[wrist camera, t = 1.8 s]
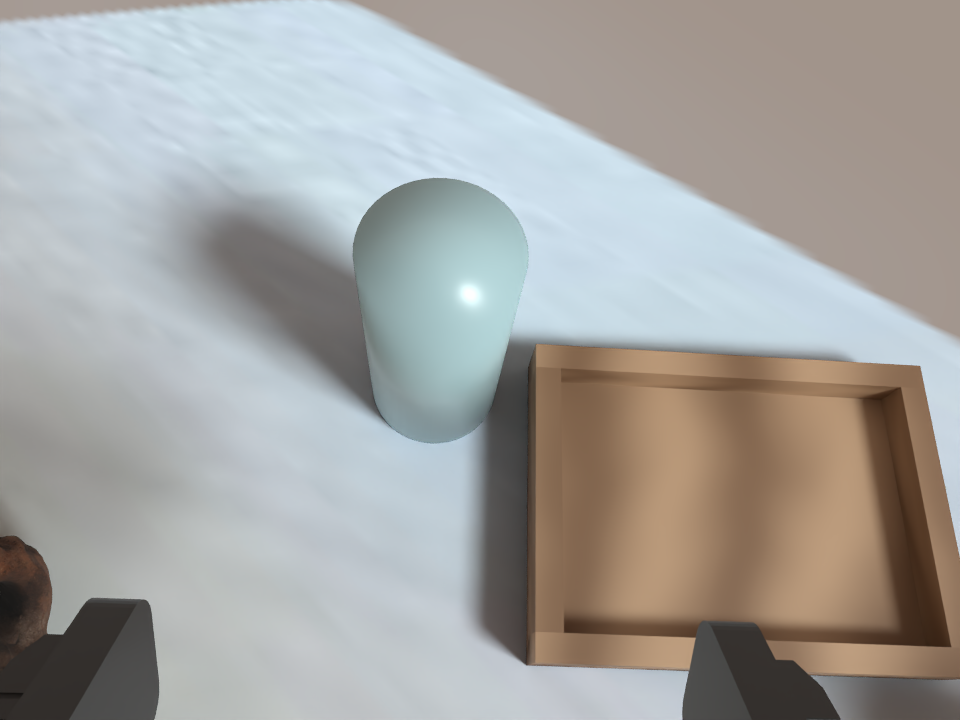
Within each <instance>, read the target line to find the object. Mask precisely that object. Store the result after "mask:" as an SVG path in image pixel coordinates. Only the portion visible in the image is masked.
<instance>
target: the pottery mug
mask: <svg viewBox="0 0 960 720" xmlns="http://www.w3.org/2000/svg"><path fill="white" fill-rule="evenodd" d="M51 604H52V587H51V582H50V577H49V571H48V568H47V566H46V564H45V562H44V560H43V558H42V556H41V555H40V554H39V553H38V552H37V550H36V549H34V548H33V547H31V546H28V545H26V544H25V543H24V542H23V541H22V540H20V539H19V538H18V537H16V536H6V537H0V673H1V672H2V671H3V669H4V668H5V666H6V665H7V664H8V662H9V661H10V660H11V659H13V658H14V657H15V656H17V655H18V654H19V653H21V652H22V651H23V650H25V649H26V648H27V647H29V646H30V645H31V644H33V643H34V642H35V641H37V640H38V639H39V638H41V637H42V636H43V635H45V634H47V623H48V619H49V615H50V610H51Z"/></svg>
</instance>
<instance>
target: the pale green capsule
mask: <svg viewBox="0 0 960 720" xmlns="http://www.w3.org/2000/svg"><path fill="white" fill-rule="evenodd" d="M528 257H529V256H528V245H527V240H526V236H525V234H524V231H523V228H522V226H521V224H520V223H519V221H518V219H517V218H516V216H515V215H514V213H513V212H512V211H511V210H510V209H509V207H508V206H507V205H506V204H505V203H504V202H502V201H501V200H500V199H499V198H498V197H496V196H495V195H493V194H492V193H490V192H489V191H487V190H485V189H483V188H481V187H479V186H477V185H474V184H471V183H468V182H464V181H460V180H455V179H447V178H430V179H422V180H417V181H413V182H410V183H407V184H403V185H401V186H399V187H397V188H395V189H393V190H391V191H389V192H388V193H386V194H385V195H383V196H382V197H381V198H380V199H378V200H377V201H376V202H375V203H374V204H373V205H372V206H371V207H370V208H369V209H368V211H367V212H366V214H365V215H364V216H363V218H362V220H361V222H360V224H359V226H358V228H357V231H356V234H355V238H354V243H353V262H354V269H355V276H356V282H357V289H358V296H359V302H360V309H361V316H362V322H363V329H364V336H365V342H366V349H367V355H368V362H369V369H370V375H371V382H372V389H373V395H374V399H375V403H376V406H377V408H378V410H379V412H380V414H381V415H382V417H383V418H384V420H385V421H386V422H387V423H388V424H389V425H390V426H391V427H392V428H393V429H394V430H396V431H397V432H398V433H400V434H402V435H404V436H405V437H407V438H410V439H412V440H415V441H419V442H424V443H444V442H449V441H453V440H456V439H459V438H461V437H463V436H465V435H467V434H469V433H470V432H471V431H473V430H474V429H475V428H477V427H478V426H479V425H480V424H481V423H482V421H483V420H484V419H485V417H486V416H487V414H488V412H489V411H490V409H491V406H492V404H493V400H494V396H495V392H496V389H497V385H498V381H499V377H500V373H501V369H502V365H503V361H504V358H505V354H506V350H507V346H508V342H509V338H510V334H511V330H512V326H513V323H514V319H515V315H516V311H517V307H518V303H519V299H520V295H521V292H522V288H523V284H524V280H525V276H526V272H527V268H528Z"/></svg>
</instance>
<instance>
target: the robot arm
mask: <svg viewBox="0 0 960 720" xmlns="http://www.w3.org/2000/svg"><path fill="white" fill-rule="evenodd" d="M158 698H159V677H158V668H157V659H156V650H155V641H154V632H153V622H152V613H151V608H150V605H149V603H148V602H147V600H141V599H112V598H91V599H89V600H88V601H87V602H86V603H85V604H84V605H83V607H82V608H81V610H80V611H79V613H78V614H77V615H76V617H75V618H74V620H73V621H72V623H71V624H70V626H69V627H68V629H67V630H66V632H65V633H64V635H54V634H45V635H43V636H42V637H41V638H39V639H38V640H37V641H35V642H34V643H33V644H31V645H30V646H29V647H27V648H26V649H25V650H23V651H22V652H21V653H19V654H18V655H17V656H15V657H14V658H13V659H11V660H10V661H9V662H8V664H7V665H6V666H5V668H4V669H3V671H2V672H1V673H0V720H154V718H155V715H156V710H157V705H158ZM682 716H683V720H840V717H839V715H838V714H837V712H836V710H835V708H834V707H833V705H832V703H831V701H830V700H829V698H828V696H827V694H826V693H825V691H824V689H823V687H821V686H820V685H819V684H818V683H817V682H816V681H815V680H814V679H813V678H812V677H811V676H810V675H809V674H807V673H806V672H805V671H804V670H803V669H802V668H801V667H800V666H799V665H798V664H797V663H796V662H795V661H794V660H776V659H775V657H774V655H773V653H772V651H771V650H770V648H769V646H768V644H767V642H766V640H765V638H764V636H763V634H762V632H761V630H760V629H759V627H758V626H757V625H756V624H755V623H753V622H732V621H702V622H701V623H700V625H699V627H698V630H697V634H696V639H695V644H694V649H693V654H692V659H691V664H690V669H689V674H688V679H687V684H686V689H685V694H684V699H683V711H682Z"/></svg>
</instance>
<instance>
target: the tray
mask: <svg viewBox="0 0 960 720" xmlns="http://www.w3.org/2000/svg"><path fill="white" fill-rule="evenodd" d="M702 621H732V622H753V623H755V624H756V625H757V626H758V627H759V629H760V630H761V632H762V634H763V636H764V638H765V640H766V642H767V644H768V646H769V648H770V650H771V651H772V653H773V655H774V657H775V659H776V660H794V661H795V662H796V663H797V664H798V665H799V666H800V667H801V668H802V669H803V670H804V671H805V672H806V673H807V674H809V675H818V676H846V677H875V678H903V679H932V680H952V679H960V557H959V552H958V547H957V542H956V538H955V533H954V528H953V523H952V518H951V513H950V509H949V504H948V499H947V494H946V489H945V484H944V479H943V475H942V470H941V465H940V460H939V455H938V450H937V446H936V441H935V436H934V431H933V426H932V421H931V417H930V412H929V407H928V402H927V397H926V392H925V388H924V383H923V378H922V373H921V368H920V366H912V365H894V364H877V363H859V362H842V361H825V360H807V359H790V358H772V357H755V356H737V355H720V354H702V353H685V352H667V351H650V350H633V349H615V348H598V347H580V346H563V345H545V344H536V346H535V349H534V352H533V355H532V358H531V361H530V364H529V367H528V478H527V635H526V665H533V666H562V667H590V668H619V669H647V670H676V671H689V669H690V664H691V659H692V654H693V649H694V644H695V639H696V634H697V630H698V627H699V625H700V623H701V622H702Z"/></svg>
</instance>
